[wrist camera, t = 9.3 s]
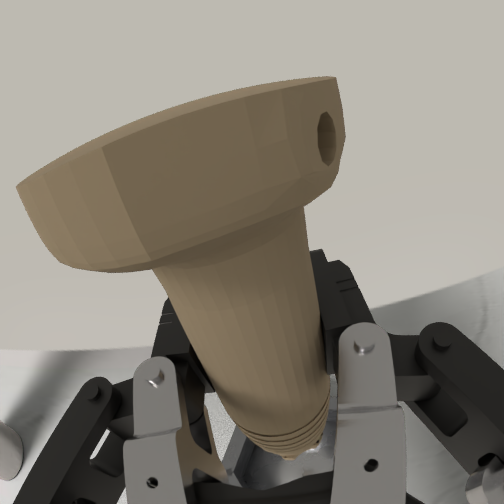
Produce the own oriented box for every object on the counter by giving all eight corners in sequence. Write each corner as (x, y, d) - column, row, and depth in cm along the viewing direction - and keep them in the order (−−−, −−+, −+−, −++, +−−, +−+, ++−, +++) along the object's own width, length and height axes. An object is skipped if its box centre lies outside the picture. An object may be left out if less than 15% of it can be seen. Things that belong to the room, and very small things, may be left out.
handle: (358, 400, 13) (365, 73, 5) (302, 501, 9) (80, 168, 1) (282, 375, 16) (206, 96, 8) (221, 461, 12) (3, 191, 4)
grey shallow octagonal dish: (269, 566, 11) (260, 572, 9) (199, 446, 23) (184, 435, 21) (420, 471, 15) (433, 463, 13) (328, 375, 27) (328, 357, 25)
